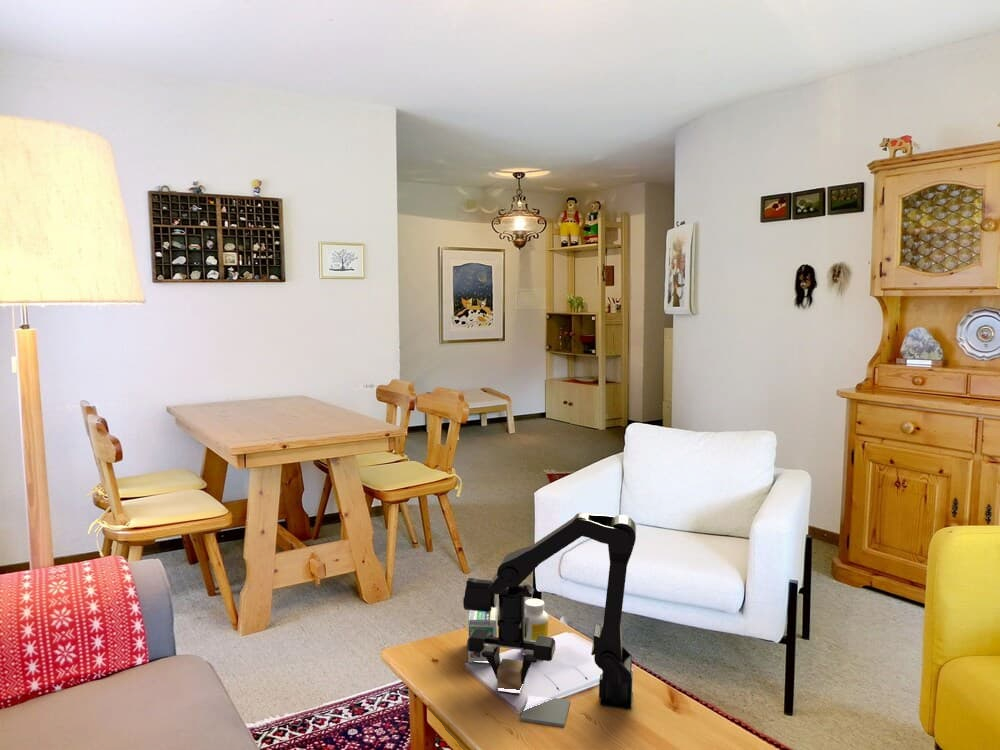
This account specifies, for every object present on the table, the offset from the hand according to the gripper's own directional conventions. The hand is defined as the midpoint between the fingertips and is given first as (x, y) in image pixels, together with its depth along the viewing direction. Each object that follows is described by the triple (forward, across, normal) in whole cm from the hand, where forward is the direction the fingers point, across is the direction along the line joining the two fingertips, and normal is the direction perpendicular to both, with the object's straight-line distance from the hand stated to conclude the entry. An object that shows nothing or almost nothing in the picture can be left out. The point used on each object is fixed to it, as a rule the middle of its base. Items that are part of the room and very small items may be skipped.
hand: (510, 681), depth 157 cm
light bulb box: (+2, +10, -14) cm, 17 cm away
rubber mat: (+2, -9, +7) cm, 12 cm away
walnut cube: (+1, 0, 0) cm, 1 cm away
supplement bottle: (+2, -2, -17) cm, 17 cm away
